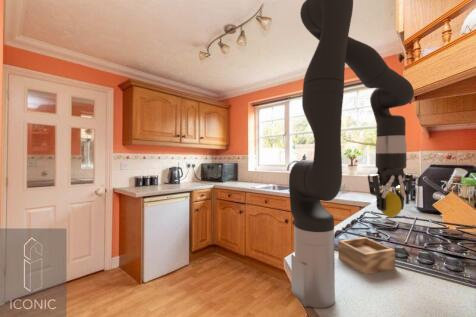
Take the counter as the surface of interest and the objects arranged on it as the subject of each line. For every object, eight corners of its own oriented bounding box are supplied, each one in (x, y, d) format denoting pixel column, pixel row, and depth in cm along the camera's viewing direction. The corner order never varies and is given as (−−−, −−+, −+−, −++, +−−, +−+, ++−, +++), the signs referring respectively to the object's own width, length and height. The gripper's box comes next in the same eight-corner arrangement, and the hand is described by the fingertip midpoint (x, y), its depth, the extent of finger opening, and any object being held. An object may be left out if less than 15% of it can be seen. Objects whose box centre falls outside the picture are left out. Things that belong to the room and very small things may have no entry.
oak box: (365, 275, 65) (365, 254, 65) (338, 258, 76) (338, 240, 76) (395, 269, 68) (394, 249, 68) (365, 254, 79) (365, 236, 79)
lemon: (405, 221, 64) (405, 192, 64) (383, 220, 65) (383, 192, 65) (396, 216, 69) (396, 189, 69) (376, 215, 70) (376, 189, 70)
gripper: (380, 151, 61) (380, 214, 62) (423, 151, 65) (422, 211, 65) (360, 152, 69) (359, 208, 69) (398, 152, 72) (398, 205, 72)
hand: (390, 209), depth 67 cm, fingers closed on lemon, 5 cm apart
